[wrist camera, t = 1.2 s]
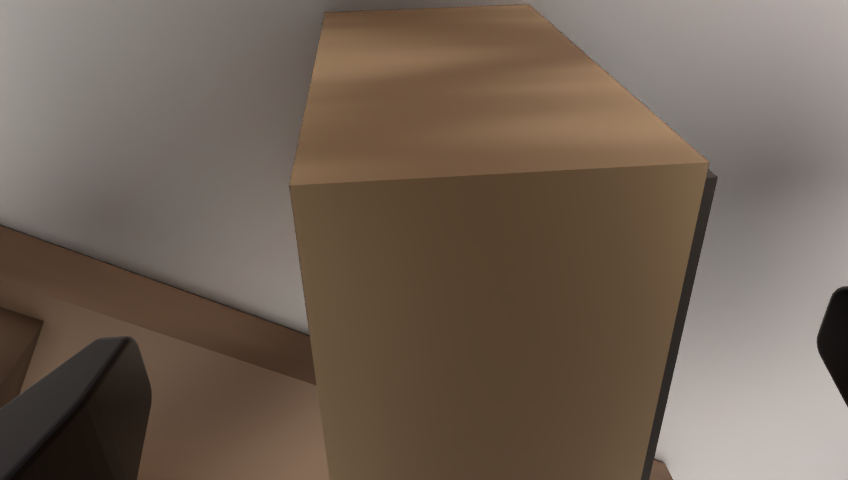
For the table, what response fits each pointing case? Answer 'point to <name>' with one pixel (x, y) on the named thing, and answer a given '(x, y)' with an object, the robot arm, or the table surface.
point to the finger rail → (171, 365)
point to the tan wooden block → (489, 250)
